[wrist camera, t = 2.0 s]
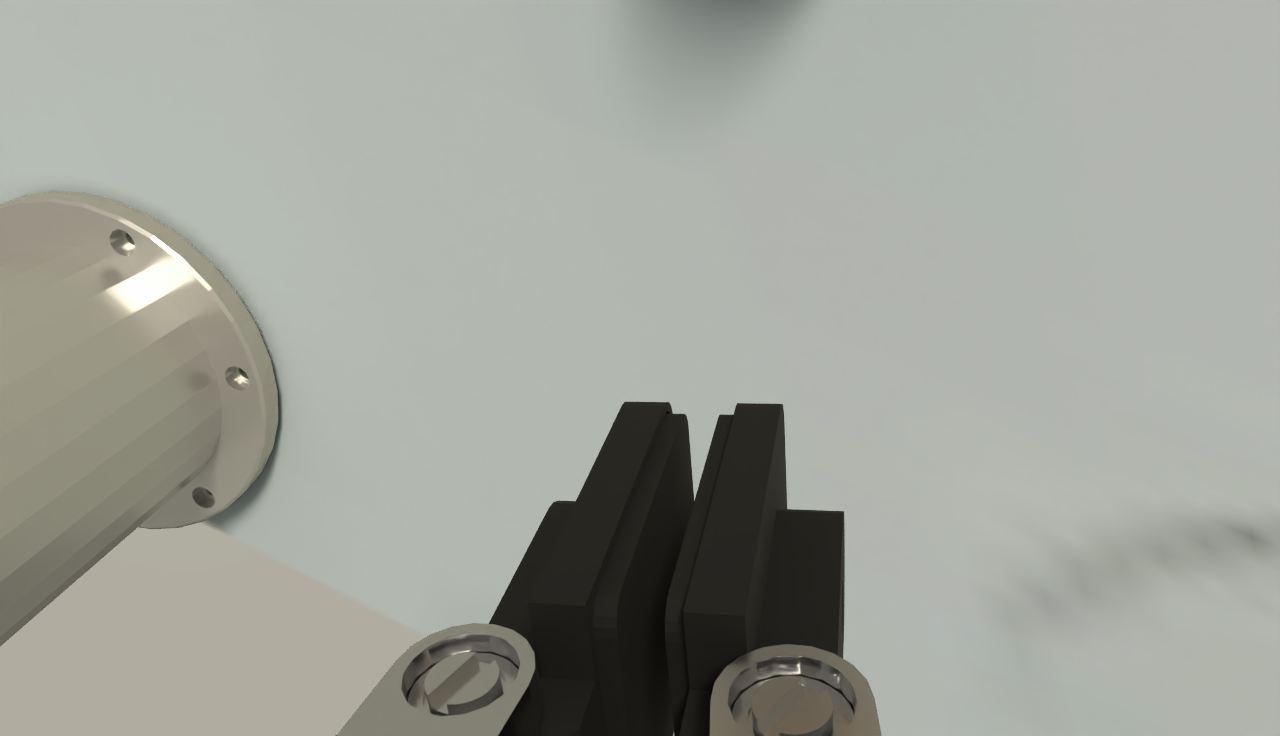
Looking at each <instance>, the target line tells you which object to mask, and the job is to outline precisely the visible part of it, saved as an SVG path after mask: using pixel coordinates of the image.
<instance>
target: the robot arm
mask: <svg viewBox="0 0 1280 736" xmlns="http://www.w3.org/2000/svg"><path fill="white" fill-rule="evenodd" d="M277 426H278V390H277V386H276V381H275V377H274V372H273V368H272V363H271V359H270V356H269V354H268V352H267V349H266V347H265V344H264V342H263V339H262V337H261V334H260V332H259V329H258V327H257V325H256V324H255V322H254V320H253V319H252V317H251V315H250V314H249V312H248V310H247V309H246V307H245V305H244V304H243V302H242V300H241V299H240V297H239V295H238V294H237V293H236V292H235V290H234V289H233V288H232V287H231V286H230V284H229V283H228V282H227V281H226V280H225V278H224V277H223V276H222V275H221V273H220V272H219V271H218V270H217V269H216V267H215V266H214V265H213V264H212V263H211V262H210V261H208V260H207V259H206V258H205V257H204V256H203V255H202V254H201V253H200V252H199V251H197V250H196V249H195V248H194V247H193V246H192V245H191V244H190V243H189V242H188V241H186V240H185V239H184V238H182V237H181V236H180V235H178V234H177V233H175V232H174V231H172V230H171V229H169V228H168V227H166V226H165V225H163V224H162V223H160V222H159V221H157V220H156V219H154V218H152V217H150V216H148V215H146V214H144V213H142V212H140V211H137V210H135V209H133V208H131V207H129V206H127V205H124V204H122V203H120V202H117V201H113V200H109V199H106V198H102V197H98V196H95V195H91V194H87V193H76V192H61V191H51V192H44V193H38V194H31V195H25V196H22V197H19V198H17V199H14V200H11V201H9V202H6V203H3V204H0V646H1V645H2V644H3V643H5V642H6V641H7V640H8V639H9V638H10V637H11V636H13V635H14V634H15V633H16V632H17V631H18V630H19V629H21V628H22V627H23V626H24V625H25V624H26V623H28V622H29V621H30V620H31V619H32V618H33V617H34V616H36V615H37V614H38V613H39V612H40V611H41V610H43V609H44V608H45V607H46V606H47V605H48V604H49V603H51V602H52V601H53V600H54V599H55V598H56V597H57V596H59V595H60V594H61V593H62V592H63V591H64V590H66V589H67V588H68V587H69V586H70V585H71V584H72V583H74V582H75V581H76V580H77V579H78V578H79V577H81V576H82V575H83V574H84V573H85V572H86V571H88V570H89V569H90V568H91V567H92V566H93V565H95V564H96V563H97V562H98V561H99V560H100V559H101V558H103V557H104V556H105V555H106V554H107V553H108V552H110V551H111V550H112V549H113V548H114V547H115V546H117V545H118V544H119V543H120V542H121V541H122V540H123V539H125V538H126V537H127V536H128V535H129V534H130V533H131V532H133V531H134V530H135V529H136V528H137V527H141V528H148V529H161V528H179V527H183V526H187V525H191V524H195V523H199V522H202V521H205V520H207V519H208V518H210V517H212V516H214V515H216V514H218V513H220V512H222V511H223V510H225V509H226V508H227V507H229V506H230V505H231V504H232V503H233V502H234V501H235V500H236V499H238V498H239V497H240V496H241V495H242V494H243V493H244V492H245V491H246V490H247V489H248V488H249V487H250V486H251V485H252V483H253V482H254V481H255V480H256V478H257V477H258V476H259V475H260V474H261V472H262V471H263V469H264V467H265V465H266V463H267V460H268V458H269V456H270V454H271V452H272V450H273V447H274V441H275V436H276V431H277ZM843 643H844V511H817V510H791V509H787V492H786V461H785V429H784V410H783V405H782V404H743V403H737V405H736V408H735V412H734V415H719V417H718V421H717V424H716V428H715V431H714V435H713V438H712V442H711V445H710V449H709V452H708V456H707V459H706V463H705V466H704V470H703V473H702V477H701V480H700V484H699V487H698V491H697V494H696V498H695V501H694V494H693V481H692V468H691V455H690V442H689V429H688V421H687V416H686V415H685V414H673V413H672V408H671V405H670V403H669V402H624V404H623V405H622V407H621V409H620V411H619V413H618V415H617V417H616V419H615V421H614V423H613V425H612V428H611V430H610V432H609V434H608V436H607V438H606V440H605V442H604V444H603V446H602V448H601V450H600V452H599V455H598V457H597V459H596V461H595V463H594V465H593V467H592V469H591V471H590V473H589V475H588V477H587V479H586V481H585V484H584V486H583V488H582V490H581V492H580V494H579V496H578V498H577V500H576V501H556V502H553V504H552V505H551V506H550V508H549V509H548V511H547V513H546V515H545V517H544V519H543V521H542V522H541V524H540V526H539V528H538V530H537V532H536V534H535V536H534V538H533V540H532V542H531V544H530V546H529V547H528V549H527V551H526V553H525V555H524V557H523V559H522V561H521V563H520V565H519V567H518V569H517V570H516V572H515V574H514V576H513V578H512V580H511V582H510V584H509V586H508V588H507V590H506V592H505V594H504V595H503V597H502V599H501V601H500V603H499V605H498V607H497V609H496V611H495V613H494V615H493V617H492V619H491V620H490V622H489V624H476V623H473V624H467V625H461V626H454V627H450V628H447V629H445V630H442V631H439V632H436V633H434V634H431V635H429V636H427V637H426V638H424V639H422V640H421V641H419V642H417V643H416V644H414V645H413V646H411V647H410V648H409V649H408V650H407V651H406V652H405V653H404V654H403V655H402V656H401V657H399V658H398V660H396V662H395V663H394V664H393V665H392V667H391V668H390V669H389V670H388V672H387V673H386V674H385V675H384V677H383V678H382V679H381V680H380V682H379V683H378V684H377V685H376V687H375V688H374V689H373V690H372V692H371V693H370V694H369V696H368V697H367V698H366V699H365V700H364V702H363V703H362V704H361V705H360V707H359V708H358V709H357V711H356V712H355V713H354V714H353V715H352V717H351V718H350V719H349V720H348V722H347V723H346V724H345V726H344V727H343V728H342V729H341V731H340V732H339V733H338V734H337V735H336V736H673V733H674V735H675V736H881V730H880V725H879V719H878V714H877V709H876V703H875V698H874V696H873V693H872V691H871V688H870V686H869V683H868V681H867V679H866V678H865V677H864V676H863V675H862V674H861V673H860V672H859V671H858V670H857V669H856V668H855V666H854V665H852V664H851V663H849V662H847V661H846V660H844V659H843Z"/></svg>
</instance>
